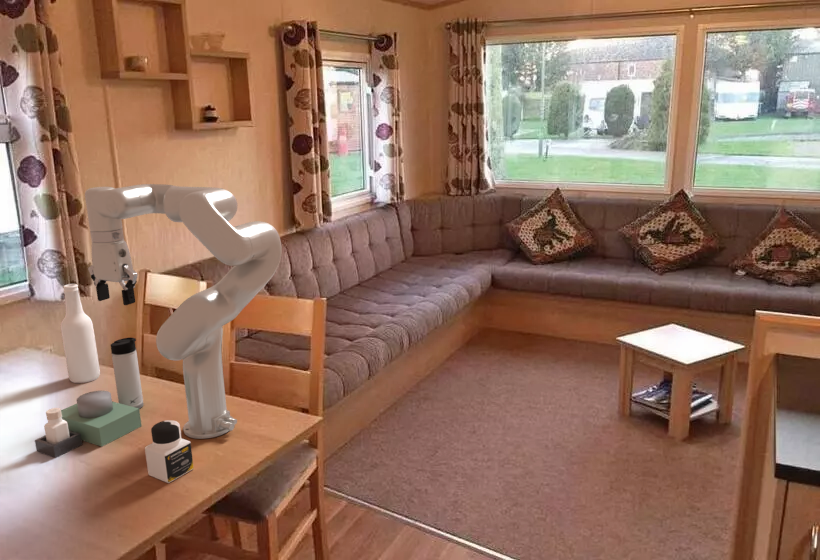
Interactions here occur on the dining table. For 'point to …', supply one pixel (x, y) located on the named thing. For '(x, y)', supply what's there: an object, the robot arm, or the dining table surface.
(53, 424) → the pepper shaker
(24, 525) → the dining table surface
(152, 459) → the medicine bottle
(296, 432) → the dining table surface
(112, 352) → the travel mug
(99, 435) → the green slab with dome
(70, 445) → the dark brown square tray
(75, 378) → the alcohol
